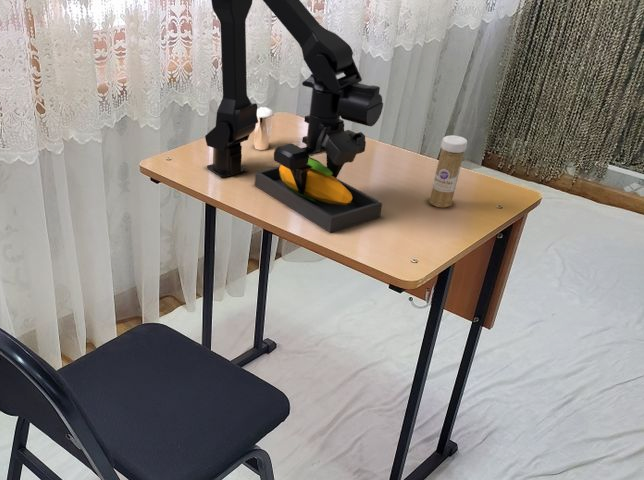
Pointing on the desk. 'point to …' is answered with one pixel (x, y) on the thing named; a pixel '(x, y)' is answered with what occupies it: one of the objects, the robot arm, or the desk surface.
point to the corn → (318, 184)
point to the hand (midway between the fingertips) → (315, 189)
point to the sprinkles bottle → (447, 170)
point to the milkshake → (263, 128)
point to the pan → (320, 203)
